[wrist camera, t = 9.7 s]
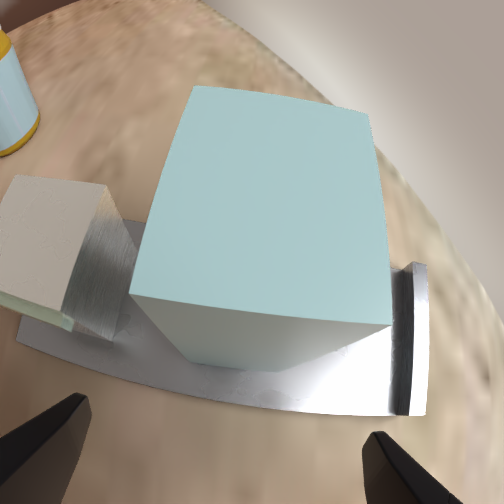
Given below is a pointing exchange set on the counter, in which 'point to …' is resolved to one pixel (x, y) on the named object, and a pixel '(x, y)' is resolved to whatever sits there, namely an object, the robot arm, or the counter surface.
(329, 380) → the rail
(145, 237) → the block
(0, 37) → the bottle
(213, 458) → the counter surface
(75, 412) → the robot arm
